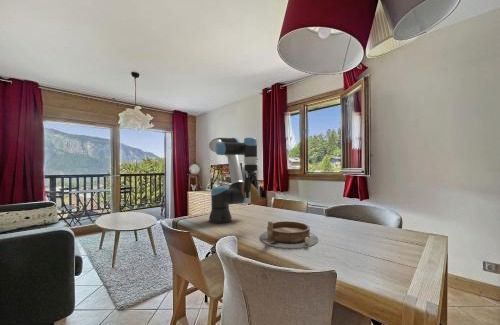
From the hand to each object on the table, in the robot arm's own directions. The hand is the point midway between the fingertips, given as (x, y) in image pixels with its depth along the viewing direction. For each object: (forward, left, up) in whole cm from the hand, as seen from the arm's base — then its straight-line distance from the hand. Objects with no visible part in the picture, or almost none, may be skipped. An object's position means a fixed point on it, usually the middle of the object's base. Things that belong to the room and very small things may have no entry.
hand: (251, 201), depth 134 cm
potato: (-1, -4, +3) cm, 5 cm away
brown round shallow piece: (+22, -12, -15) cm, 29 cm away
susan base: (+23, -10, -16) cm, 30 cm away
